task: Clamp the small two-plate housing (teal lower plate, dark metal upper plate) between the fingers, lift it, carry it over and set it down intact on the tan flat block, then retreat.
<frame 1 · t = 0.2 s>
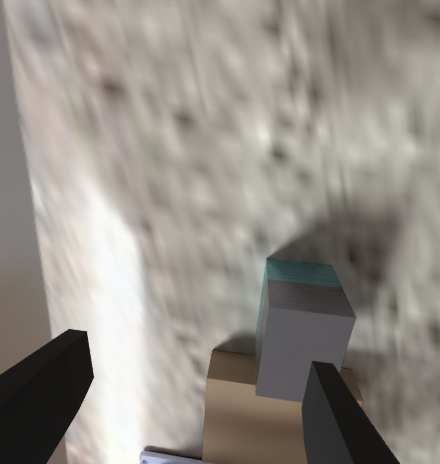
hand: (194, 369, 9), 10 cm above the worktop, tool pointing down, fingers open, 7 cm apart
housing: (291, 301, 20), on the worktop
tan flat block: (272, 402, 23), on the worktop
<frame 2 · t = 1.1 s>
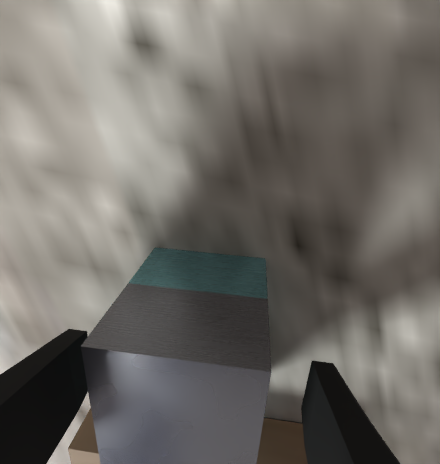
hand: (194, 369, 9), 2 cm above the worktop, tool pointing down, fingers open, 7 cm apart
housing: (206, 319, 12), on the worktop
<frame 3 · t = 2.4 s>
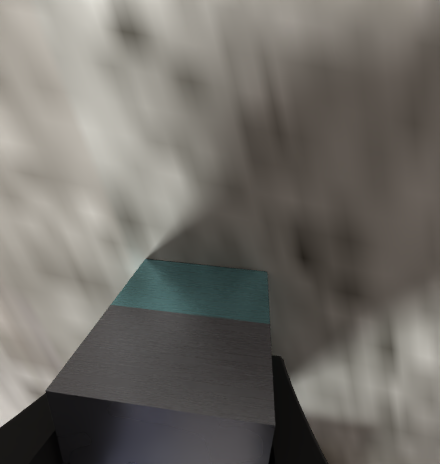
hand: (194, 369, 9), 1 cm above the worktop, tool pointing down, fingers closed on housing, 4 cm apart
housing: (202, 337, 11), on the worktop, touching gripper
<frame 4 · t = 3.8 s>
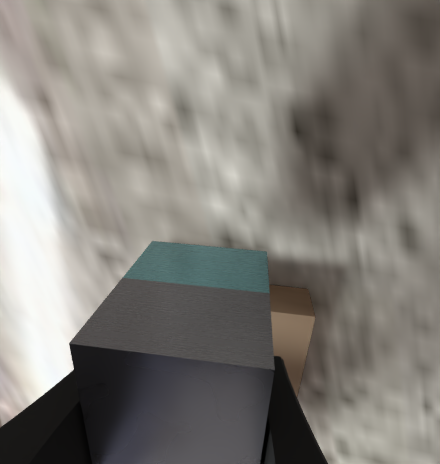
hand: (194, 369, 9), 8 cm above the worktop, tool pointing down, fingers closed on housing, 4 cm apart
housing: (206, 316, 11), point 6 cm above the worktop, touching gripper
tan flat block: (219, 337, 19), on the worktop
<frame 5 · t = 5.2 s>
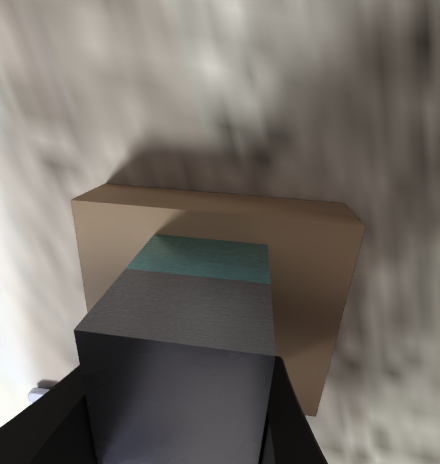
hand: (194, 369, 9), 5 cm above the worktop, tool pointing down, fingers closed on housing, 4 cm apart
housing: (207, 309, 11), point 2 cm above the worktop, touching gripper, tan flat block
tan flat block: (215, 285, 14), on the worktop
when the fingers open (5 cm above the worktop, at t = 5.6 s): housing stays where it is, resting on tan flat block.
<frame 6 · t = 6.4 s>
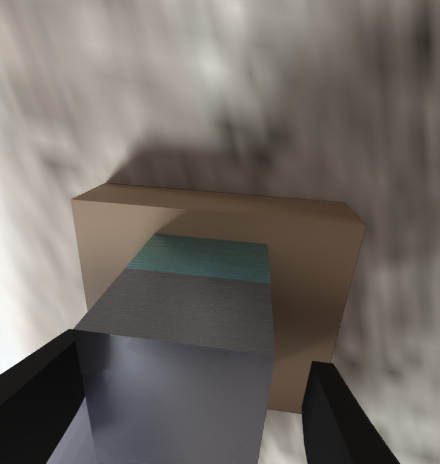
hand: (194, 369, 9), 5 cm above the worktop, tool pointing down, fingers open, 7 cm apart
housing: (207, 309, 11), point 2 cm above the worktop, touching tan flat block
tan flat block: (215, 285, 14), on the worktop
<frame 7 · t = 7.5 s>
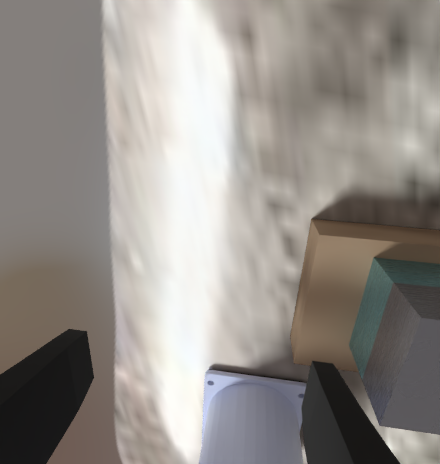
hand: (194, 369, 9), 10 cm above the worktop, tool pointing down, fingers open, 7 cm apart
housing: (397, 308, 17), point 2 cm above the worktop, touching tan flat block
tan flat block: (378, 291, 19), on the worktop
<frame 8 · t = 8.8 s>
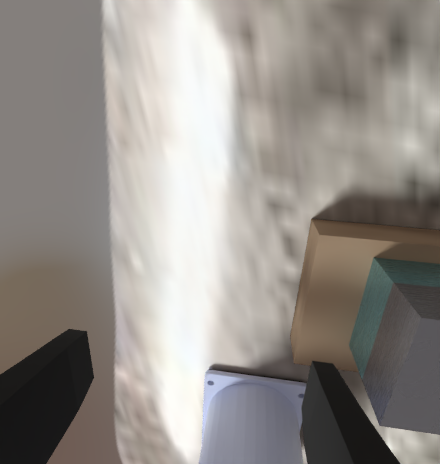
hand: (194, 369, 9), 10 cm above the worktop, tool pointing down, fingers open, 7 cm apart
housing: (397, 308, 17), point 2 cm above the worktop, touching tan flat block
tan flat block: (378, 291, 19), on the worktop
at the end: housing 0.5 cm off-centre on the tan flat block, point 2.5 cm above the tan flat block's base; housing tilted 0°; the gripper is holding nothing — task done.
